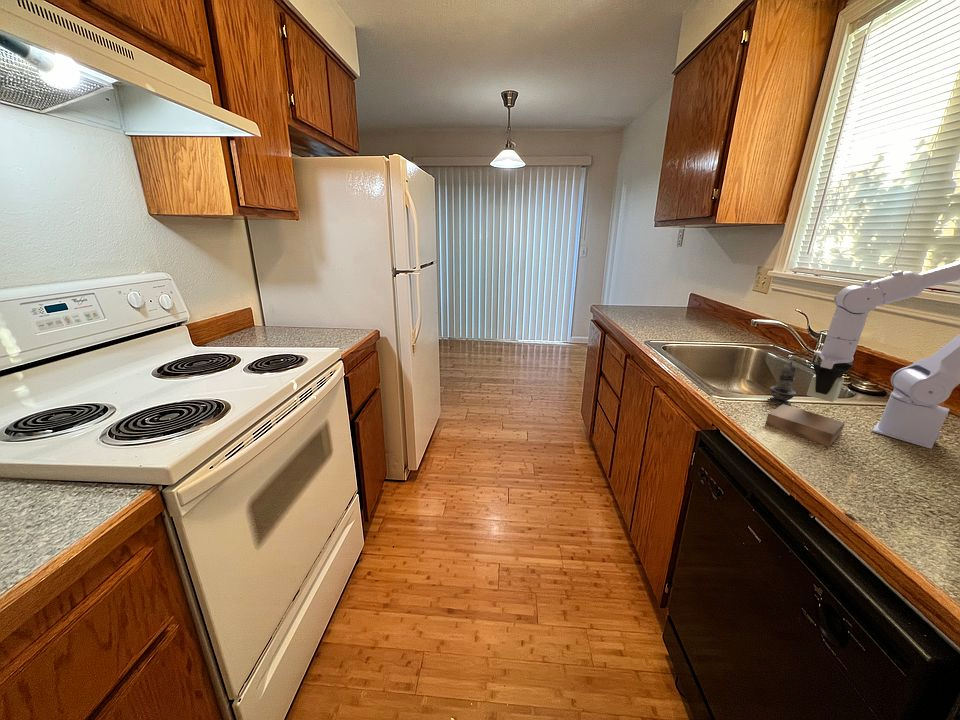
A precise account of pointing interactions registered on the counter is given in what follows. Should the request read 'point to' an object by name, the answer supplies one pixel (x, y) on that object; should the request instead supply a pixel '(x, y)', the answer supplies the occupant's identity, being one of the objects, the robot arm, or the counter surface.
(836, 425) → the walnut block
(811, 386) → the sage block
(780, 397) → the grey stone chess piece
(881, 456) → the counter surface
